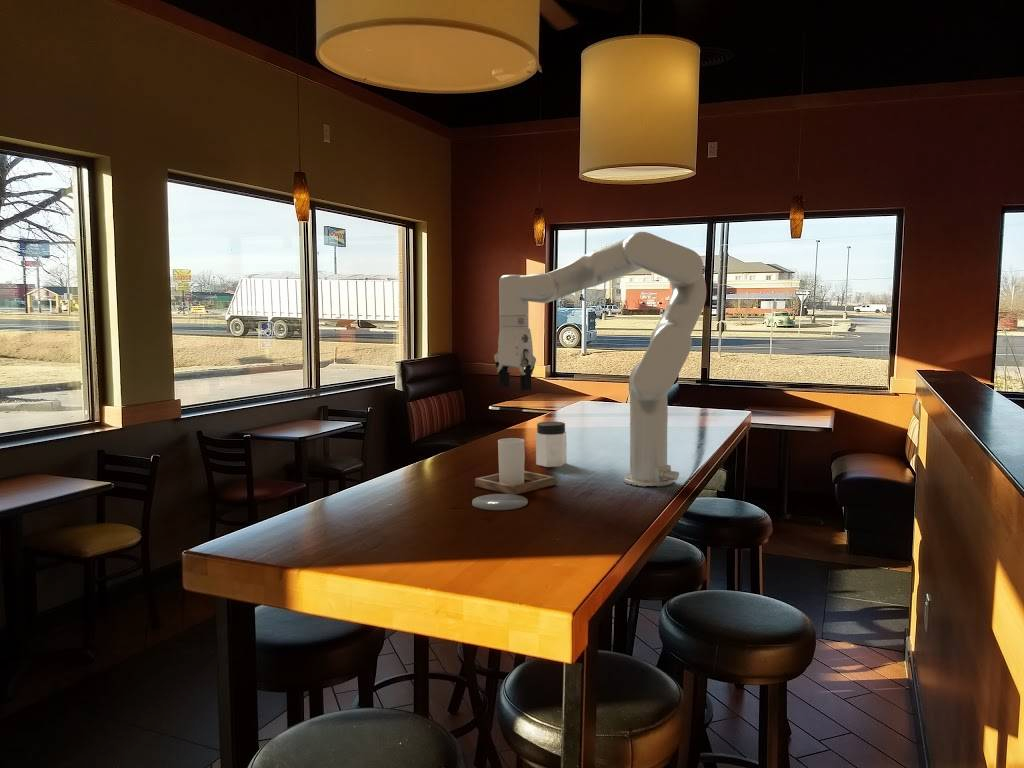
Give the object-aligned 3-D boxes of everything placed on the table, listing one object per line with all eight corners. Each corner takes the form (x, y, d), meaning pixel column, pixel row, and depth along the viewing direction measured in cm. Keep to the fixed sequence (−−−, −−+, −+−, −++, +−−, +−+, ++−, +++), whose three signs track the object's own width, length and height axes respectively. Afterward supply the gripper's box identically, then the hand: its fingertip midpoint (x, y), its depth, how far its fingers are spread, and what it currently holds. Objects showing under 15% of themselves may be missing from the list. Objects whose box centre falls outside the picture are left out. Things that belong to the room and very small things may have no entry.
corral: (554, 484, 197) (554, 476, 197) (513, 495, 186) (513, 487, 186) (516, 476, 207) (516, 469, 207) (475, 486, 196) (474, 478, 196)
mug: (516, 491, 191) (516, 443, 189) (493, 488, 194) (492, 441, 193) (535, 482, 199) (535, 437, 198) (513, 480, 203) (512, 435, 202)
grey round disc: (539, 502, 179) (539, 500, 179) (499, 513, 170) (499, 511, 170) (500, 493, 188) (500, 491, 188) (460, 503, 179) (460, 501, 179)
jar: (538, 467, 218) (538, 426, 217) (533, 462, 226) (533, 421, 225) (569, 466, 219) (569, 425, 218) (563, 460, 227) (563, 420, 226)
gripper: (546, 323, 193) (546, 390, 195) (506, 322, 207) (507, 385, 209) (521, 323, 189) (522, 392, 190) (483, 322, 203) (484, 387, 204)
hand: (514, 388), depth 199 cm, fingers open, 9 cm apart
